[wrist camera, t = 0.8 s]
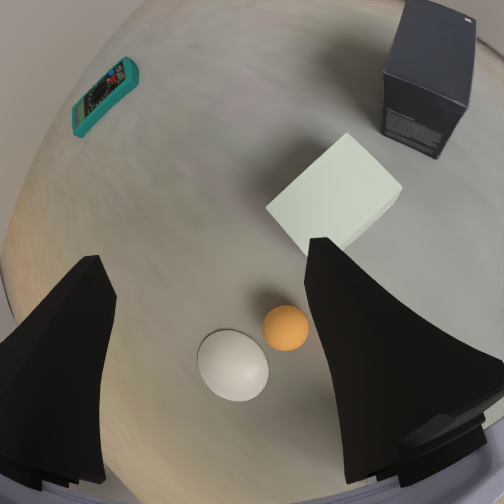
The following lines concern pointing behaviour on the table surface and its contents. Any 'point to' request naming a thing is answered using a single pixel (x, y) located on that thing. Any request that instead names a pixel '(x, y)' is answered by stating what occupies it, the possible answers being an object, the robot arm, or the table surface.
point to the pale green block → (335, 196)
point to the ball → (285, 328)
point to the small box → (428, 76)
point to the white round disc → (233, 365)
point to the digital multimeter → (104, 95)
